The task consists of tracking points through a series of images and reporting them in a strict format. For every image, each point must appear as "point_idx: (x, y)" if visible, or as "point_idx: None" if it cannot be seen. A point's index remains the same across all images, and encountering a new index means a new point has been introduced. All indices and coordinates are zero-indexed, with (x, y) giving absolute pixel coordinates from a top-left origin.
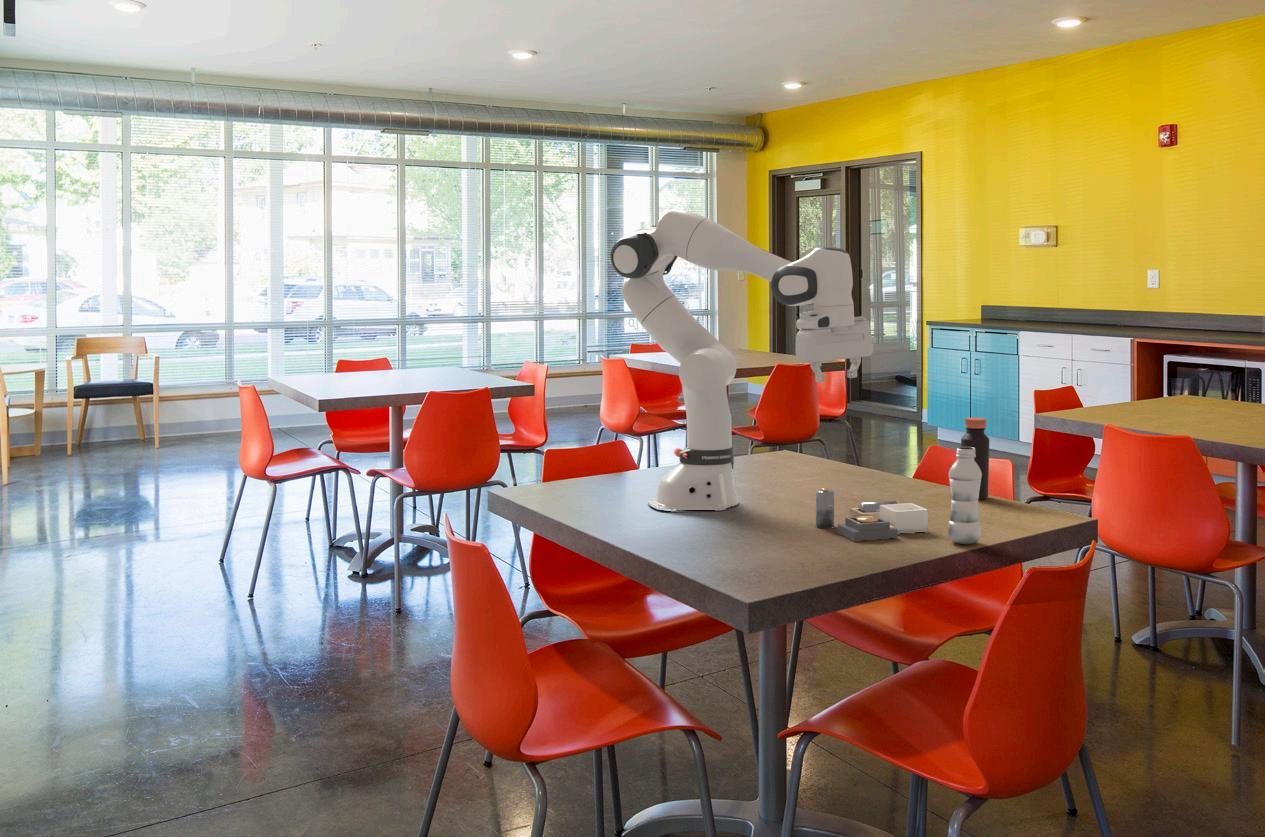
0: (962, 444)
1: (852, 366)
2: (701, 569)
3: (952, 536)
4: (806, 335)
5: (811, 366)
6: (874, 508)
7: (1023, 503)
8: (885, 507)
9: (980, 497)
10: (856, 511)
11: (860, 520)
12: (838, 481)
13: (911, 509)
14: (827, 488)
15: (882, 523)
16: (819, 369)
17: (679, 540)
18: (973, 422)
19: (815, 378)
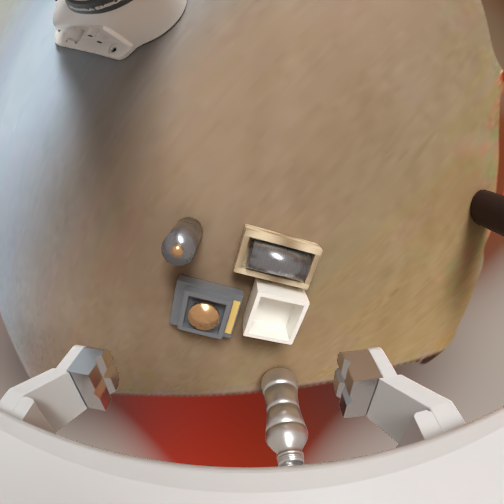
0: None
1: (392, 406)
2: (10, 309)
3: (261, 381)
4: None
5: (11, 397)
6: (262, 271)
7: (482, 263)
8: (252, 308)
9: (477, 223)
10: (239, 252)
11: (188, 318)
12: (424, 6)
13: (301, 306)
14: (182, 251)
15: (210, 336)
16: (57, 424)
17: (10, 203)
18: None
19: (68, 352)
